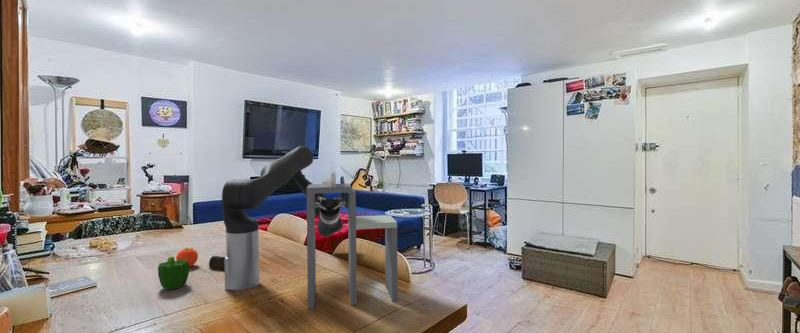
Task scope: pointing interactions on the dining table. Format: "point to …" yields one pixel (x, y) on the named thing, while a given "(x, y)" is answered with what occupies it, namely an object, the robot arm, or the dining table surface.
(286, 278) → the dining table surface
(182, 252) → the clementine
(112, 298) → the dining table surface
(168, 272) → the bell pepper
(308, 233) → the step stand
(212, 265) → the hand tool
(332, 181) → the bracket
